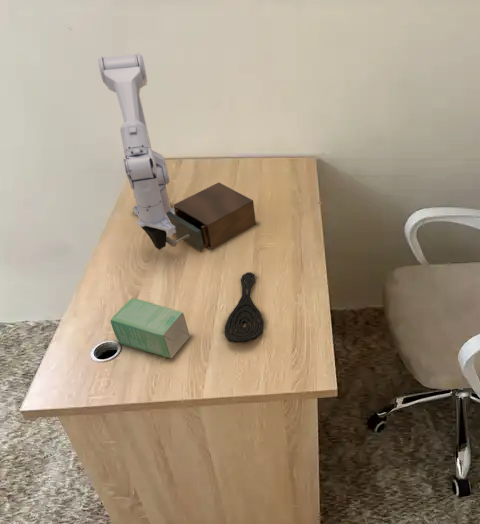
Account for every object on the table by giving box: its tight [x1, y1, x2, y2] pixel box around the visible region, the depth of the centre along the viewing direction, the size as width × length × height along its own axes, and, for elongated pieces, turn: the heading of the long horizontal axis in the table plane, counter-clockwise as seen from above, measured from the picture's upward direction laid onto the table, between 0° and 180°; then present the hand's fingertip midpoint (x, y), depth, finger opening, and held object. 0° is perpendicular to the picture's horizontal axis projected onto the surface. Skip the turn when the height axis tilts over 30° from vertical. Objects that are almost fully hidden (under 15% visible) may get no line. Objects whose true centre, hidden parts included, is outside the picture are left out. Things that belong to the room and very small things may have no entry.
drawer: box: [166, 209, 210, 252], centre depth 150 cm, size 20×13×6 cm, turn 139°
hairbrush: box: [224, 271, 264, 344], centre depth 130 cm, size 8×4×25 cm
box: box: [110, 297, 190, 359], centre depth 121 cm, size 7×14×8 cm, turn 70°
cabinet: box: [173, 181, 257, 250], centre depth 154 cm, size 15×14×8 cm
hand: (160, 247), depth 144 cm, fingers closed, pressing on drawer
